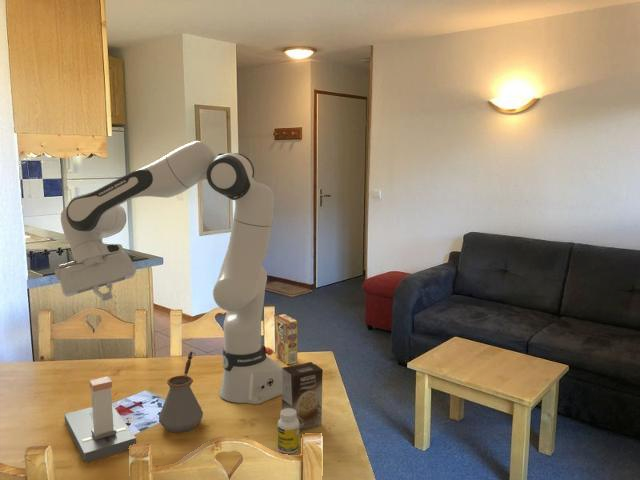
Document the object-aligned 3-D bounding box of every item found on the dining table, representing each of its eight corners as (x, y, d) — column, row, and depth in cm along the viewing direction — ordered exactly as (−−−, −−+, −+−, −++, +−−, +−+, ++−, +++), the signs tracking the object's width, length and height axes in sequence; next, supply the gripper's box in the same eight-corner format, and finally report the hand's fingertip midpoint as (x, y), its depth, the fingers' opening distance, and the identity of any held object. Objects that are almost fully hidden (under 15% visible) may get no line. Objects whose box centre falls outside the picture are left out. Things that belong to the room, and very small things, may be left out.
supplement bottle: (273, 451, 135) (273, 414, 133) (283, 440, 140) (282, 404, 138) (294, 456, 133) (294, 418, 131) (302, 445, 138) (302, 408, 136)
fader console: (111, 410, 154) (110, 401, 154) (136, 447, 136) (135, 437, 135) (65, 422, 148) (64, 413, 147) (85, 463, 129) (84, 452, 129)
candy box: (298, 363, 189) (298, 320, 186) (287, 365, 186) (287, 322, 184) (285, 354, 196) (285, 313, 193) (274, 357, 194) (274, 315, 191)
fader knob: (112, 427, 140) (108, 375, 138) (116, 433, 137) (113, 381, 134) (91, 432, 137) (87, 380, 135) (95, 439, 134) (91, 386, 131)
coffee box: (292, 434, 143) (292, 376, 140) (281, 423, 148) (281, 367, 145) (322, 425, 147) (323, 369, 144) (310, 415, 153) (310, 360, 150)
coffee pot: (198, 436, 141) (196, 382, 138) (153, 436, 141) (151, 382, 138) (213, 398, 162) (211, 350, 159) (174, 398, 162) (172, 350, 159)
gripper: (52, 262, 150) (69, 308, 147) (126, 243, 161) (143, 285, 158) (52, 271, 155) (68, 315, 152) (123, 251, 166) (140, 292, 163)
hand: (107, 299), depth 155 cm, fingers closed
